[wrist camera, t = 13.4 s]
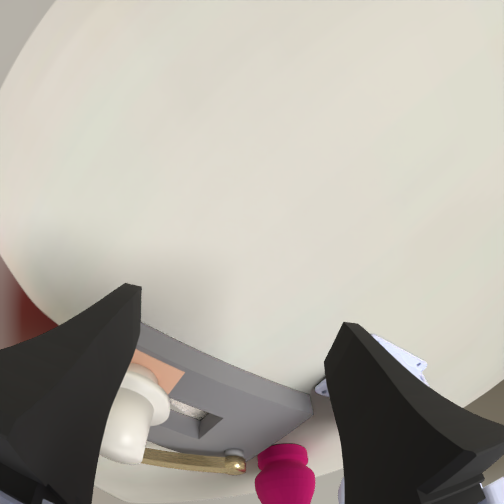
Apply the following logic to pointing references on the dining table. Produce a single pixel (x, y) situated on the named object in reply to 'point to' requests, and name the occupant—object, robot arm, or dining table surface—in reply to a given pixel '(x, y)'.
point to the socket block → (217, 401)
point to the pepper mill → (284, 475)
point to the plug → (134, 415)
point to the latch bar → (195, 462)
